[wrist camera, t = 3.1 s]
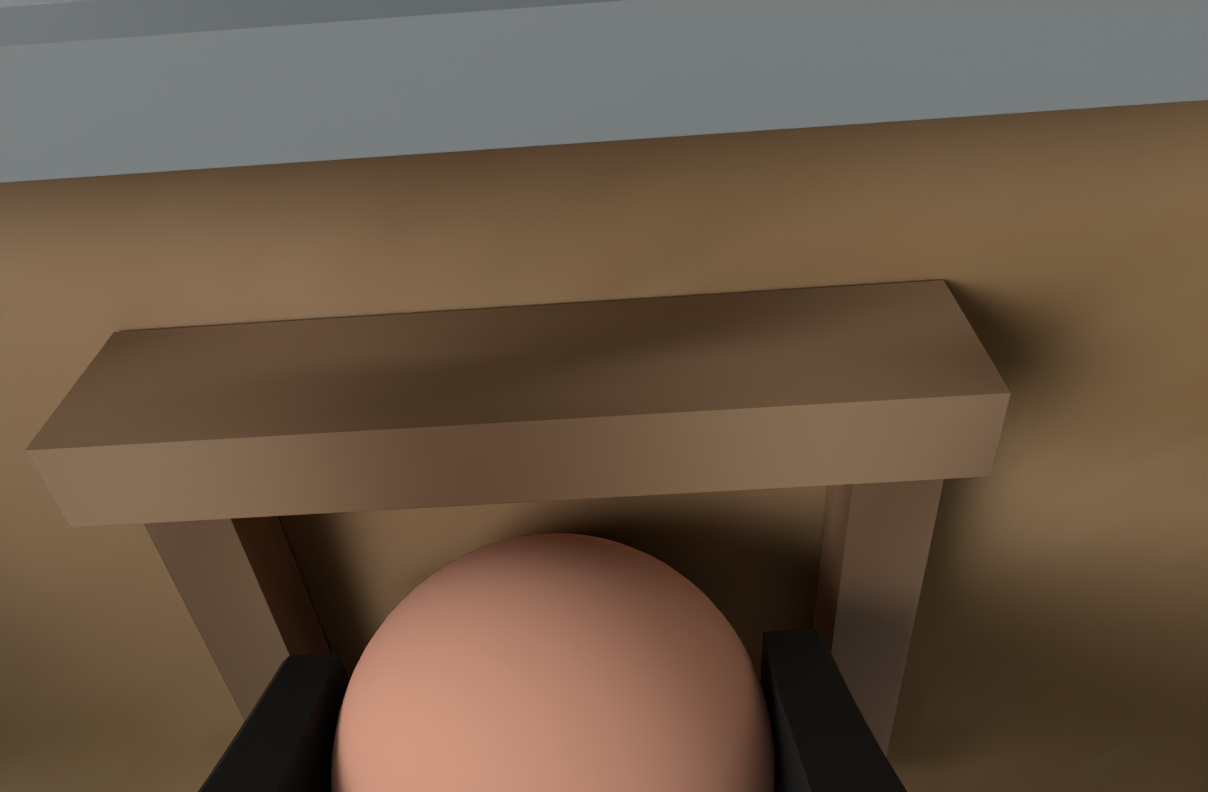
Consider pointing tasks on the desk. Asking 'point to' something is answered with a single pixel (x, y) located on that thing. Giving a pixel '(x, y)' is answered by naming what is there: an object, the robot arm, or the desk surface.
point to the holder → (535, 440)
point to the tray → (544, 72)
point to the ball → (554, 681)
